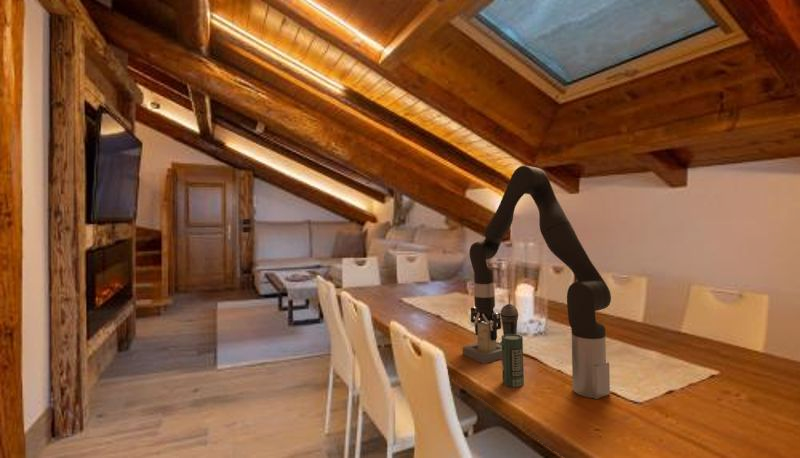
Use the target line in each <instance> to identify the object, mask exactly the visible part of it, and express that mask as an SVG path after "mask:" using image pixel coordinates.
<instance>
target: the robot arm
mask: <svg viewBox="0 0 800 458" xmlns="http://www.w3.org/2000/svg"><path fill="white" fill-rule="evenodd" d="M525 195H530V196H531V198H532V200H533V201H534V204H535V205H536V207H537V209H538V214H539V216H538V217H539V221H538V222H539V231H540V233H541V236H542V238H543V240H544V242H545V244H546V246H547V247H548V249H549V250H550V252H551V253H552V254H553V255H554V256H555V257H557V258H558V259H559V260H560V261H561V262H562V263H563V264H565V265H566V267H568V269H569V270H570V271H571V272H572V273H573V275H574V277H575V279H576V282H573V283H572V284H570V285H569V287H568V289H567V292H566V306H567V319H568V320H567V321H568V324H569V326H570V329H571V330H570V331H571V363H572V364H571V365H572V366H571V367H572V370H571V371H572V391H573V392H574V393H575V394H576V395H579V396H582V397H585V398H589V399H590V398H591V399H592V398H593V399H595V400H599V399H602V398H603V397H606V396H608V395H610V394H611V391H610V389H611V384H610V377H611V376H610V362H609V361H607V344H606V343H607V342H606V339H607V337H606V333H607V332H606V331H607V330H606V327H605V325H604V324H602V323H600V322H598V321H597V320H596V312H597V311H601V310H605V309H606V308H609V306H610V304H611V300H612V295H611V291H610V289H609V287H608V284H607V283H606V281H605V280H604V278H603V277H602V275H601V274H600V273H599V271H598V270H597V268H596V267H595V265H594V264H593V262H592V260H591V259H590V257H589V256H588V254H587V252H586V250H585V249H584V247H583V245H582V243H581V241H580V239H579V238H578V236H577V233H576V232H575V230H574V227H573V225H572V224H571V222H570V221H569V218H568V217H567V216H566V213H565V212H564V209H563V208H562V206H561V204H560V202H559V200H558V199H557V197H556V195H555V192H554V189H553V187H552V184H551V182H550V179H549V177H548V175H547V173H546V172H545V170H544V169H542V168H539V167H534V166H530V165H521V166H519V167H517V168H516V169H515V170H514V171H513V173H512V174H511V176H510V179H509V182H508V183H507V186H506V189H505V191H504V194H503V195H502V197H501V200H500V202H499V205H498V207H497V208H496V209H497V210H496V211H495V213H494V215H493V216H492V218H491V219H490V221H489V222H488V224H487V226H486V228H485V229H484V232H483V234H484V237H485V238H484V240H483V241H476V242H474V243H472V244H471V245H470V248H469V259H470V263H471V266H472V270H473V274H474V276H473V279H474V280H473V281H474V285H473V296H474V297H473V299H474V306H473V307H470V322H471V324H472V323H473V326H474V332H475V336H478V323H481V322H486V323H487V325H489V327H490V329H491V340H492V341H494V340H496V341H497V339H498V330H501V329H502V319H501V315H500V314H501V312H495V311H494V309H495V306H496V298H495V297H496V295H495V285H494V270H493V268H492V267H491V266H488V264H487V260H491V259H493V258H494V257H495V256H496V254H497V253H498V252H499V249H500V246H501V243H502V240H503V239H504V237H505V236H506V234H507V232H508V231H509V230H510V228H511V225H512V223H513V220H514V213H515V209H516V206H517V204H518V203H519V201H520V200H521V198H522V197H523V196H525ZM492 325H493V326H494V327H493V326H492Z"/></svg>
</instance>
